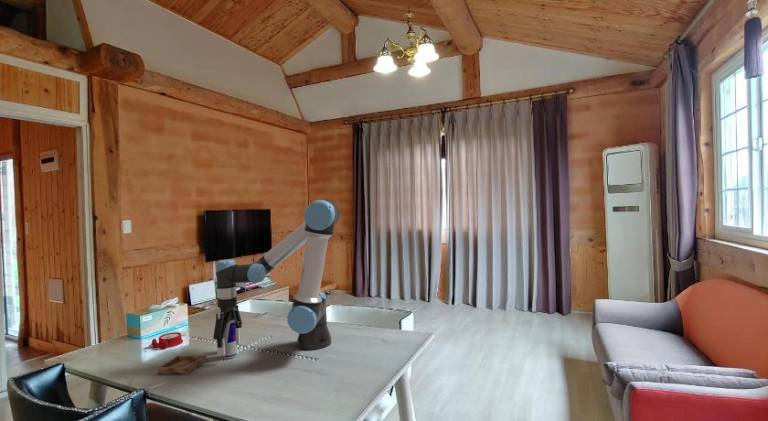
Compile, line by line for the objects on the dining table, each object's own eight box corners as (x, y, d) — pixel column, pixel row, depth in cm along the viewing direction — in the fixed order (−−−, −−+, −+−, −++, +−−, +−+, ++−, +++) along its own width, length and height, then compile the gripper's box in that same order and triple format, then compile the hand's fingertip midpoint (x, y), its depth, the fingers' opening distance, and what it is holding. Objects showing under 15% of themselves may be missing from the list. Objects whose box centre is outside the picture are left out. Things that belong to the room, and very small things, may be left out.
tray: (205, 361, 155) (205, 355, 155) (187, 374, 143) (187, 368, 143) (178, 361, 156) (178, 355, 156) (157, 374, 144) (157, 368, 144)
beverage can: (231, 359, 156) (230, 323, 155) (219, 359, 157) (217, 322, 157) (239, 354, 161) (238, 319, 161) (227, 353, 162) (226, 318, 162)
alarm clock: (189, 333, 181) (160, 336, 168) (187, 347, 180) (157, 351, 167) (174, 331, 185) (145, 333, 172) (172, 344, 184) (142, 348, 171)
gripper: (232, 290, 171) (234, 338, 171) (201, 304, 147) (204, 360, 147) (248, 290, 170) (250, 338, 170) (220, 304, 146) (222, 360, 147)
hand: (229, 348), depth 159 cm, fingers open, 12 cm apart
